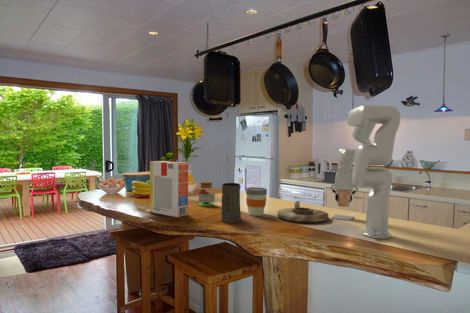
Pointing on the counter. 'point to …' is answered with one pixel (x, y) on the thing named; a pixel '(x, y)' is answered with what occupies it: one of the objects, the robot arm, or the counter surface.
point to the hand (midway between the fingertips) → (343, 201)
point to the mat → (343, 217)
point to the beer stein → (231, 203)
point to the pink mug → (343, 198)
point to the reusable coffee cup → (256, 200)
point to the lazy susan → (302, 214)
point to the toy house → (206, 195)
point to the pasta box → (169, 188)
